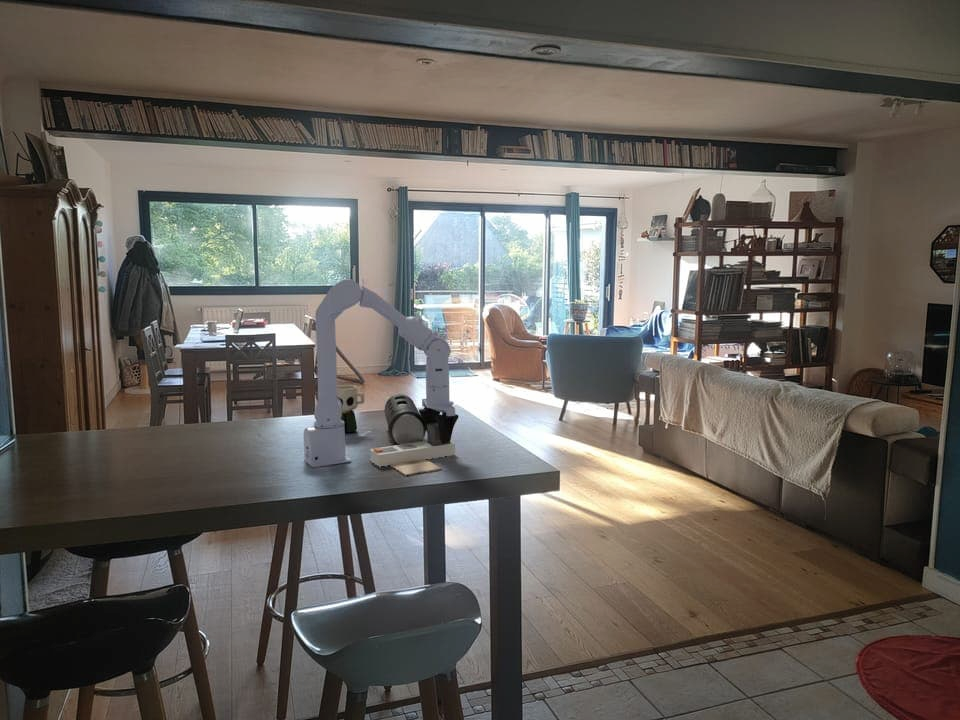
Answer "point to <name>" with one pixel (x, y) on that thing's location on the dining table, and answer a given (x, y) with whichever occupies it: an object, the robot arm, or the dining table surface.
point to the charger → (434, 435)
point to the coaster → (415, 467)
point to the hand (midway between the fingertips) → (438, 439)
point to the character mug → (349, 405)
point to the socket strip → (409, 453)
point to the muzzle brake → (404, 420)
